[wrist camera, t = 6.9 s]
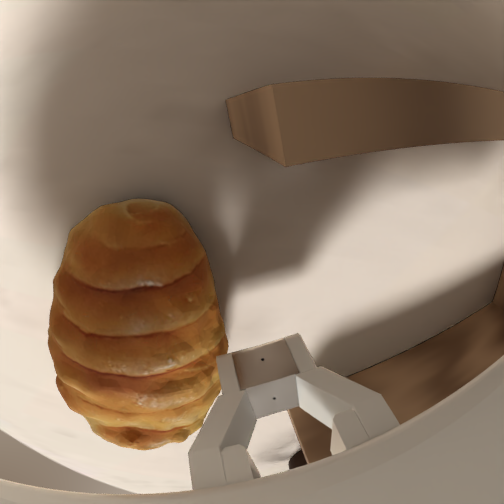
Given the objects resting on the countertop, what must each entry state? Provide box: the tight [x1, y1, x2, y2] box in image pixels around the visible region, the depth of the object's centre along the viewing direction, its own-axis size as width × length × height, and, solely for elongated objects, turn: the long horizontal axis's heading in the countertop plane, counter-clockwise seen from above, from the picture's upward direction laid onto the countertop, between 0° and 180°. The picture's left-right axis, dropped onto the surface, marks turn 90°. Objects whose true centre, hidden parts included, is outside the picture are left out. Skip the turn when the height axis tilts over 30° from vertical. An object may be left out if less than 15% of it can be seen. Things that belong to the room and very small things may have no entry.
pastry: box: [48, 199, 228, 450], centre depth 9 cm, size 9×7×4 cm
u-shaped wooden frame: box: [226, 78, 504, 464], centre depth 10 cm, size 18×15×5 cm
